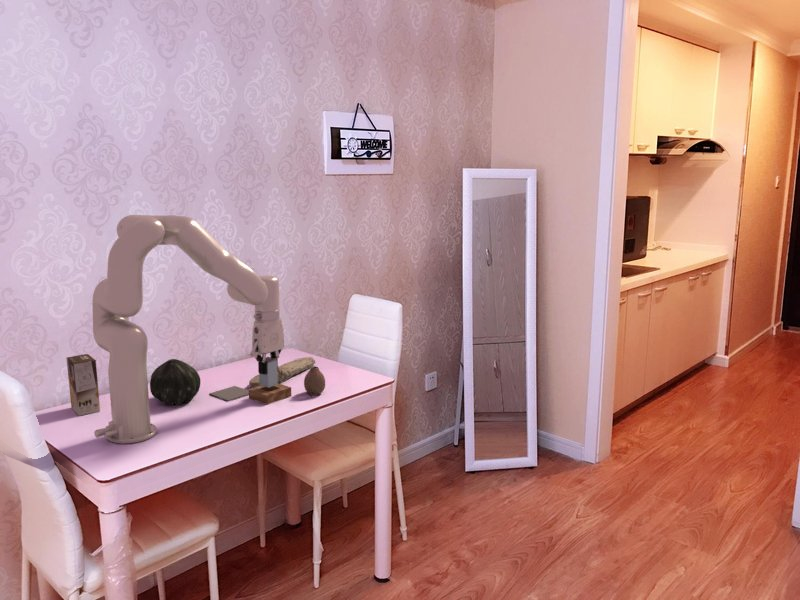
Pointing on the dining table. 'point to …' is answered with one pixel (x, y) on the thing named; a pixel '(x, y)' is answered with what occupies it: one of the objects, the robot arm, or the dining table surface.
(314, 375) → the vase
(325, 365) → the dining table surface
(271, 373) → the plug
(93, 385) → the coffee box
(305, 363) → the brown bread loaf
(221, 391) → the coaster
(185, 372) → the squash
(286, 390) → the socket block
